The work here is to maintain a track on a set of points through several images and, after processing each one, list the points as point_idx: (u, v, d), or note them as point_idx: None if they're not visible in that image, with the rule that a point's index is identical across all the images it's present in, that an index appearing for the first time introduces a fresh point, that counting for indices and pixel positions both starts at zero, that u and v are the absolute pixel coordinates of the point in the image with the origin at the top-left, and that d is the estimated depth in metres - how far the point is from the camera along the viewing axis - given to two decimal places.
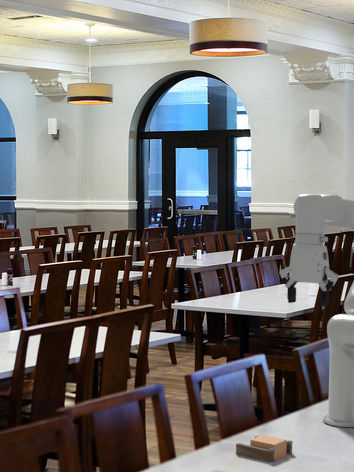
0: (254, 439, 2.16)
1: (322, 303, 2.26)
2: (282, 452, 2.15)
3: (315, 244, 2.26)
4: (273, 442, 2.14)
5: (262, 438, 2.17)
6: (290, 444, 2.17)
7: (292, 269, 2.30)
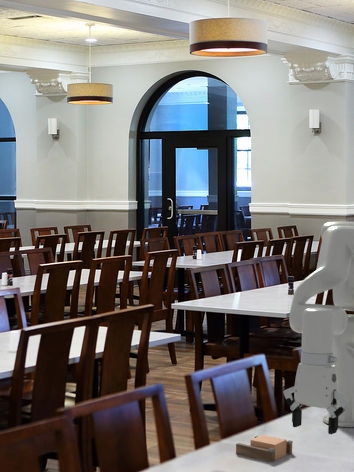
0: (254, 439, 2.16)
1: (331, 431, 2.03)
2: (282, 452, 2.15)
3: (323, 365, 2.04)
4: (274, 442, 2.14)
5: (262, 438, 2.17)
6: (290, 444, 2.17)
7: (297, 391, 2.08)
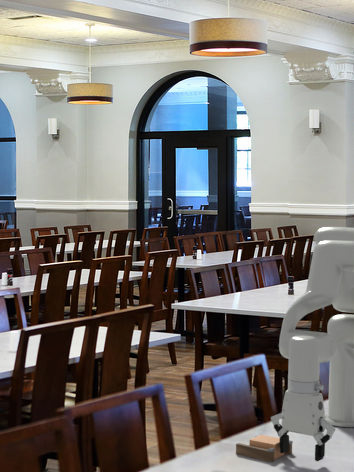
0: (253, 439, 2.16)
1: (317, 458, 2.06)
2: None
3: (310, 393, 2.06)
4: (273, 442, 2.14)
5: (261, 438, 2.17)
6: (290, 444, 2.17)
7: (284, 418, 2.11)
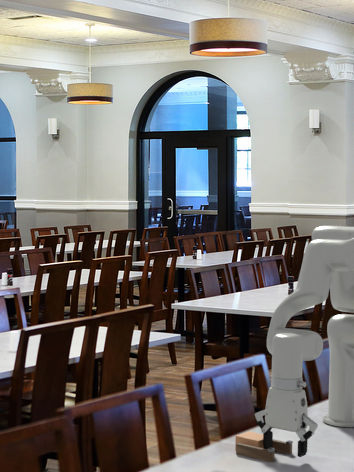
0: (239, 435, 2.20)
1: (300, 454, 2.09)
2: None
3: (292, 390, 2.09)
4: (258, 439, 2.17)
5: (248, 435, 2.20)
6: (290, 444, 2.17)
7: (268, 414, 2.13)
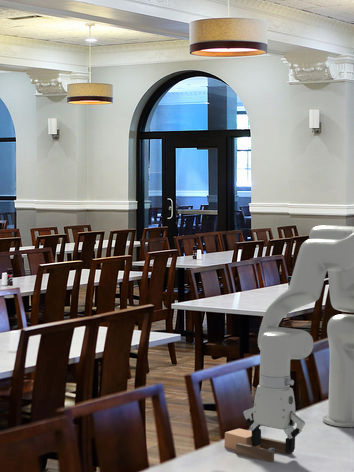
0: (228, 432, 2.22)
1: (288, 451, 2.11)
2: None
3: (280, 388, 2.11)
4: (246, 435, 2.19)
5: (237, 432, 2.23)
6: None
7: (256, 412, 2.16)
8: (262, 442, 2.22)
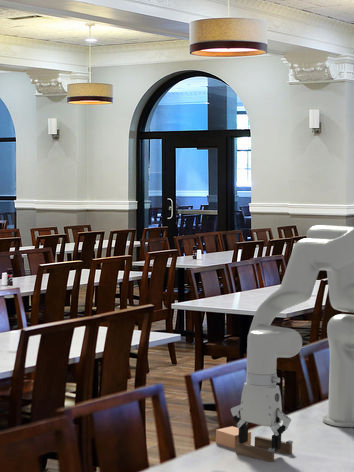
0: (220, 429, 2.26)
1: None
2: (245, 443, 2.23)
3: (266, 385, 2.14)
4: (236, 433, 2.22)
5: (228, 429, 2.26)
6: (290, 444, 2.17)
7: (243, 409, 2.18)
8: (262, 442, 2.22)
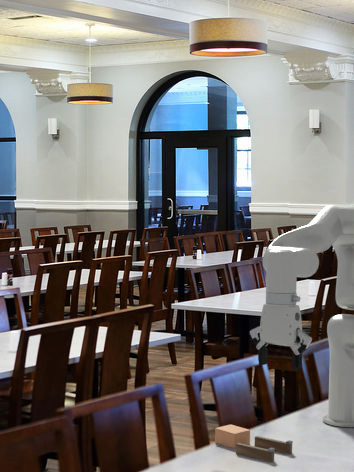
0: (219, 428, 2.26)
1: (295, 368, 2.10)
2: (244, 441, 2.24)
3: (287, 304, 2.10)
4: (235, 431, 2.23)
5: (227, 427, 2.27)
6: (290, 444, 2.17)
7: (263, 330, 2.14)
8: (262, 442, 2.22)
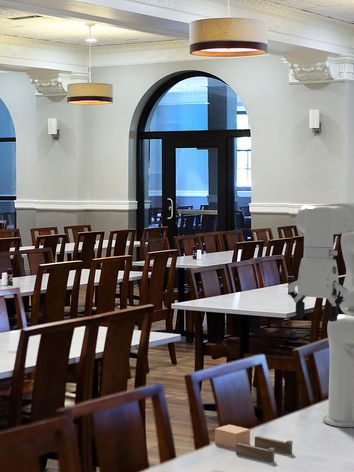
0: (219, 428, 2.26)
1: (331, 318, 2.20)
2: (245, 441, 2.24)
3: (324, 258, 2.20)
4: (236, 431, 2.23)
5: (227, 428, 2.26)
6: (290, 444, 2.17)
7: (300, 283, 2.24)
8: (262, 442, 2.22)
